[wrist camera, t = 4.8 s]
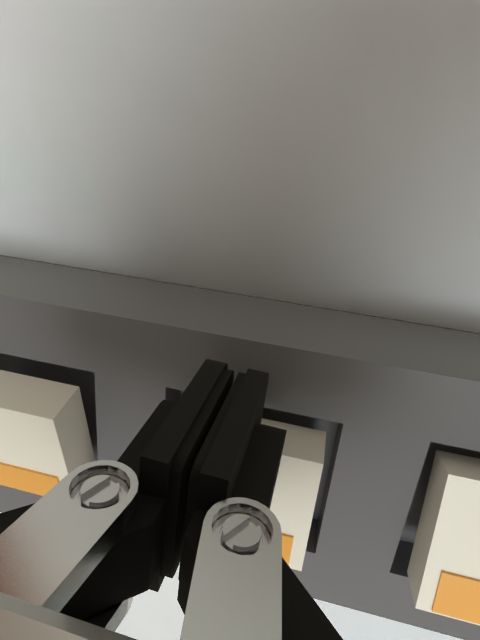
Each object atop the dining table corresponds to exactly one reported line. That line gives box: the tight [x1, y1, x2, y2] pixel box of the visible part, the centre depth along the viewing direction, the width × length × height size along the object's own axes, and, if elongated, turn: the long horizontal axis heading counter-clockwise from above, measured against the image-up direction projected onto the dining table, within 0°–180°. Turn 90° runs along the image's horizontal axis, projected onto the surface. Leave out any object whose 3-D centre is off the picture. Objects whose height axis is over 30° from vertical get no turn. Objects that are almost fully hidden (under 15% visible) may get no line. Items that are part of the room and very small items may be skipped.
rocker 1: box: [0, 370, 95, 496], centre depth 15 cm, size 4×4×2 cm
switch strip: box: [0, 255, 480, 640], centre depth 15 cm, size 29×9×3 cm, turn 85°
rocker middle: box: [261, 418, 326, 571], centre depth 13 cm, size 4×4×2 cm
